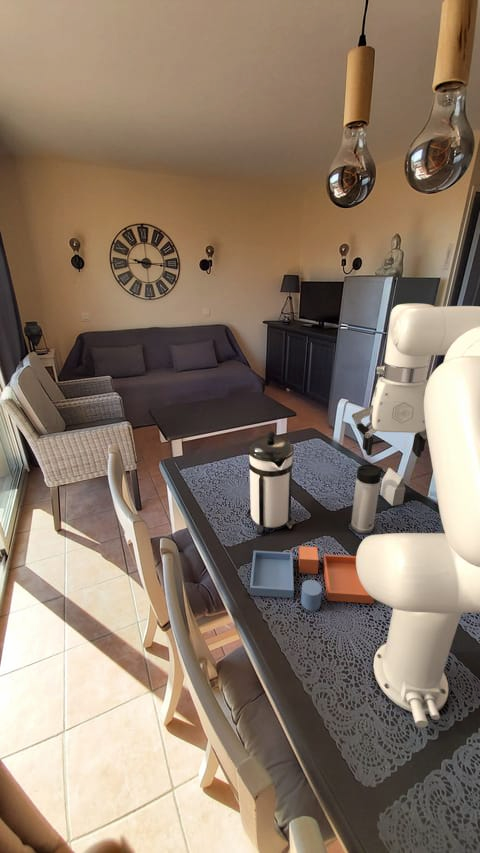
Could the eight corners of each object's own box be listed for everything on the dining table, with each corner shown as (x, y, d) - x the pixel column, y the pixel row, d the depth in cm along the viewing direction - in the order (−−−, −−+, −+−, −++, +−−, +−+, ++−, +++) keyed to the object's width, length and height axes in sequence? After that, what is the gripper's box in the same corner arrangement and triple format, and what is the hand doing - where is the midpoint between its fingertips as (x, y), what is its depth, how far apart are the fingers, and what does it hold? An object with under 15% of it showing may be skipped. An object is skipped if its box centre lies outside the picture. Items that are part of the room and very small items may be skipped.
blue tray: (293, 598, 84) (293, 590, 83) (249, 595, 85) (249, 587, 84) (292, 559, 95) (292, 552, 94) (253, 557, 96) (253, 550, 95)
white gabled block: (392, 505, 115) (396, 479, 111) (380, 494, 121) (383, 468, 117) (402, 504, 116) (407, 477, 112) (389, 492, 122) (393, 466, 118)
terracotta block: (317, 574, 90) (318, 560, 89) (299, 573, 91) (299, 559, 89) (316, 560, 95) (317, 547, 93) (298, 559, 95) (299, 546, 93)
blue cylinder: (321, 611, 80) (322, 596, 79) (301, 610, 81) (302, 594, 79) (319, 595, 84) (320, 580, 83) (300, 594, 85) (301, 578, 83)
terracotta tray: (373, 603, 82) (374, 595, 81) (327, 600, 83) (328, 592, 82) (362, 563, 93) (363, 556, 92) (322, 561, 94) (323, 554, 93)
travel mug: (375, 535, 103) (384, 474, 95) (351, 532, 104) (358, 472, 96) (373, 521, 108) (381, 463, 101) (350, 519, 110) (356, 461, 102)
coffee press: (304, 514, 113) (309, 426, 101) (280, 543, 101) (282, 448, 89) (257, 497, 122) (256, 414, 110) (230, 522, 110) (225, 433, 98)
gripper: (360, 378, 66) (351, 460, 72) (461, 378, 64) (442, 463, 70) (353, 367, 72) (346, 444, 79) (444, 367, 70) (429, 446, 77)
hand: (391, 453), depth 75 cm, fingers open, 9 cm apart
